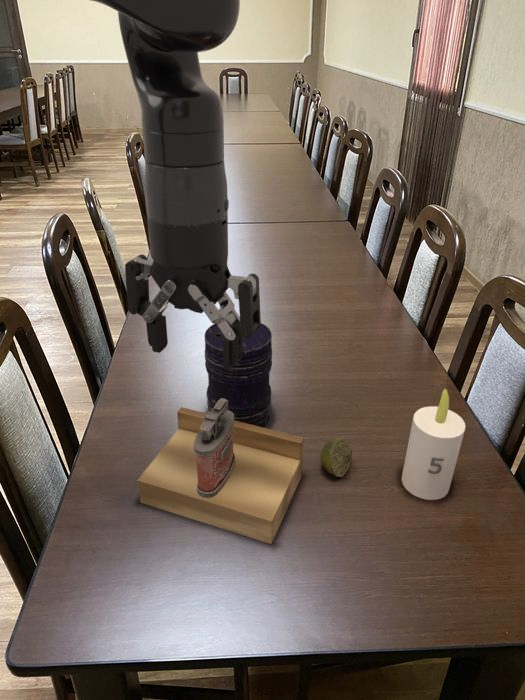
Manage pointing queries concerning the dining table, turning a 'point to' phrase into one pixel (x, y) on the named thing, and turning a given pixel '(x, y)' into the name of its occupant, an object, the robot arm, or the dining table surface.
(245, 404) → the dark blue cylinder
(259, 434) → the shelf
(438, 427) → the candle
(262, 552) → the dining table surface
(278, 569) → the dining table surface
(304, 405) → the dining table surface
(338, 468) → the lime
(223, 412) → the lighter
